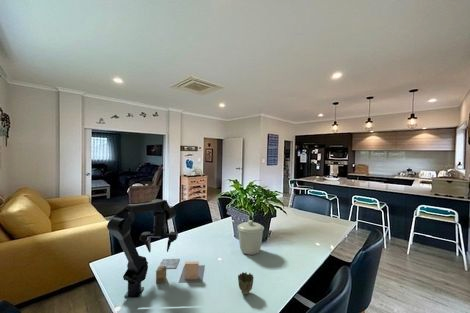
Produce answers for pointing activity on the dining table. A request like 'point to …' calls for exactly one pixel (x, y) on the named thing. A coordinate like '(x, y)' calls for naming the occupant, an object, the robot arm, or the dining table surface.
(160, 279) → the walnut block
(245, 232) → the canister
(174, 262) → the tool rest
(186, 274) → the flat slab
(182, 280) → the rubber mat
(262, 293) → the dining table surface
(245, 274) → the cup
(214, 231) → the dining table surface
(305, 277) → the dining table surface
